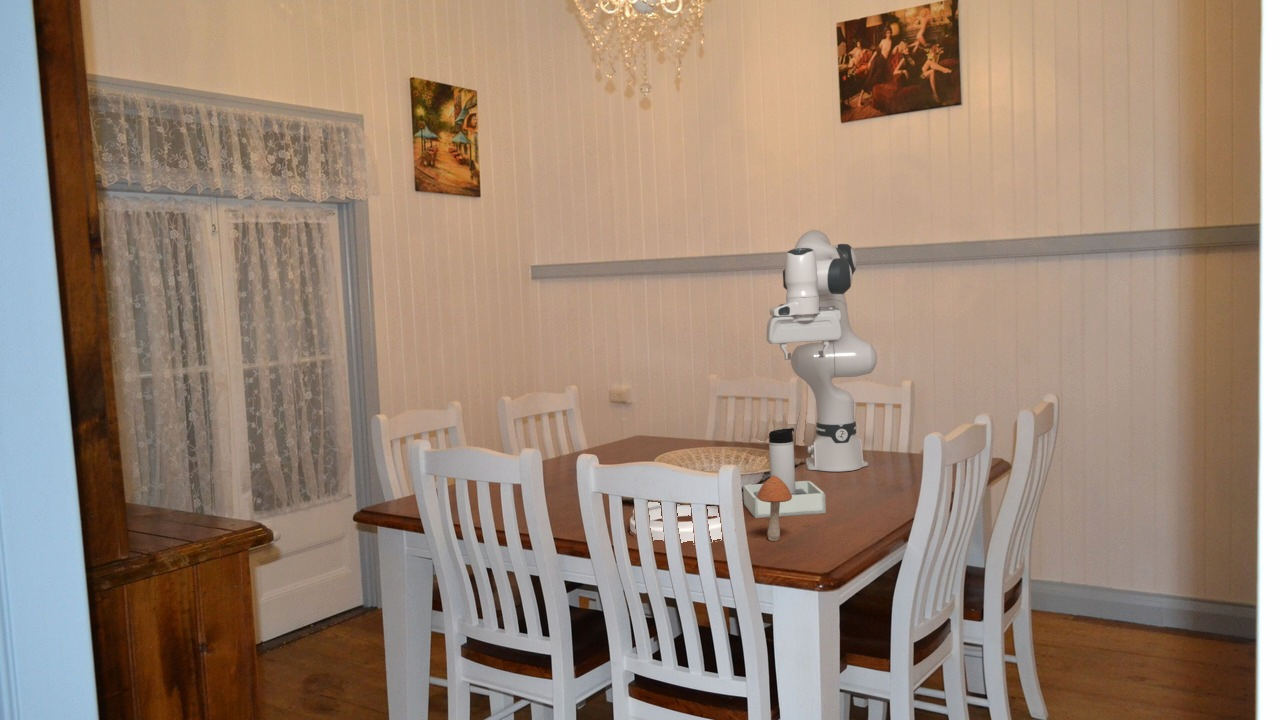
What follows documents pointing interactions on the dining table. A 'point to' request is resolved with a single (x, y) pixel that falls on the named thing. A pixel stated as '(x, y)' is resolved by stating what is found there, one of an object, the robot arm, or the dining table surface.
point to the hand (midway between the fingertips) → (804, 358)
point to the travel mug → (782, 457)
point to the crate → (802, 503)
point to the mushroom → (774, 503)
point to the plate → (684, 527)
